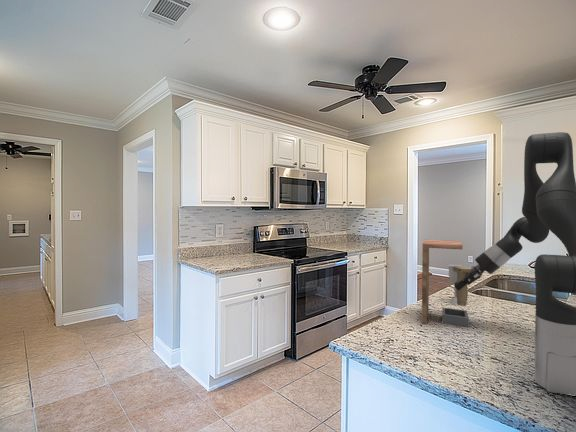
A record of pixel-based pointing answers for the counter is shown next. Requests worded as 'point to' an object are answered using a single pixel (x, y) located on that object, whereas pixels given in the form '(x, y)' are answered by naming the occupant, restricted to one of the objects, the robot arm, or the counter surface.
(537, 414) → the counter surface
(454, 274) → the chalice
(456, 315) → the socket
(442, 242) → the wooden l-shaped bracket
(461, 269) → the tan headed rod
